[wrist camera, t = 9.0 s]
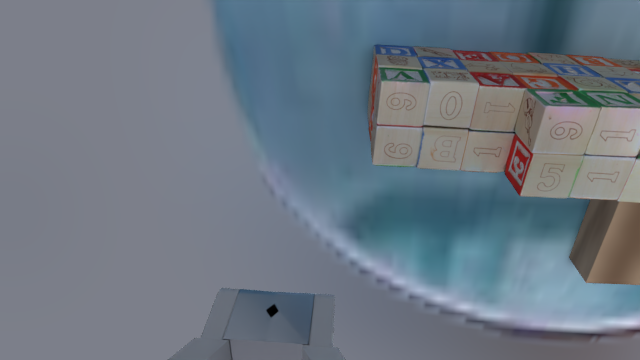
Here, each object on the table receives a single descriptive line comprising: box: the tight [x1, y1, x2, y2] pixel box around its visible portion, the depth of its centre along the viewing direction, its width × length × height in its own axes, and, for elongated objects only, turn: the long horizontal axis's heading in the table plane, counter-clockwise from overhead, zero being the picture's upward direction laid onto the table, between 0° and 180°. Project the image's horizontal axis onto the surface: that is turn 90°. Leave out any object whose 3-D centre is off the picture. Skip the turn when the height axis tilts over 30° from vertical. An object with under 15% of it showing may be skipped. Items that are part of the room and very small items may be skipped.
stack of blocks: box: [368, 45, 640, 203], centre depth 31 cm, size 21×6×12 cm, turn 87°
